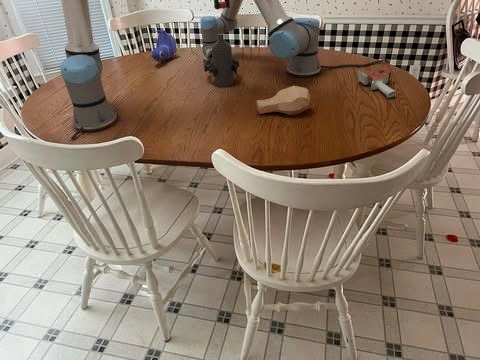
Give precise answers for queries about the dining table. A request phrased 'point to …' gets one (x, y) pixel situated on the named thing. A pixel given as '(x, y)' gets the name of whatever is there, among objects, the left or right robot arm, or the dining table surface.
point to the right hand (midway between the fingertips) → (225, 71)
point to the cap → (222, 5)
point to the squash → (286, 101)
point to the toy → (164, 47)
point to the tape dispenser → (377, 80)
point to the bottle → (222, 62)
